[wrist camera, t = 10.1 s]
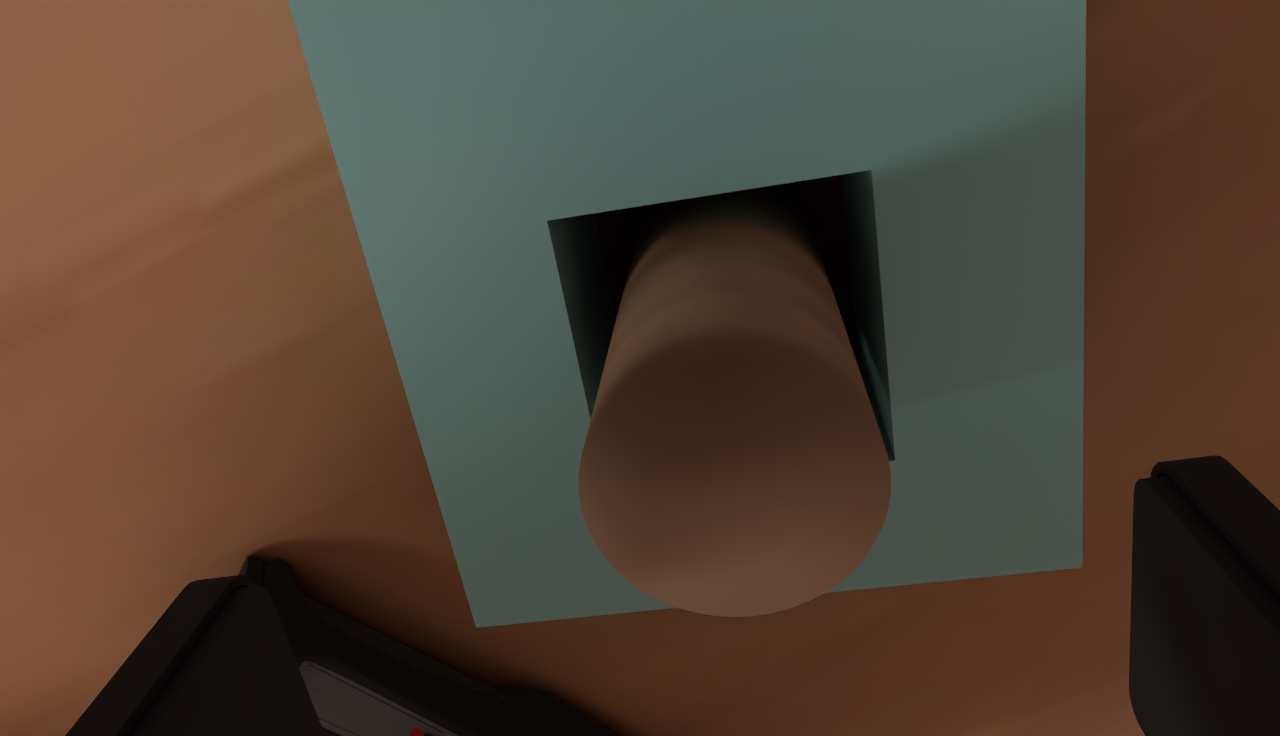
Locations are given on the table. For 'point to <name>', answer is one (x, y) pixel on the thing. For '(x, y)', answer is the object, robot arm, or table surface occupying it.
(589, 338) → the socket stand
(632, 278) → the walnut peg
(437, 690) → the electric trimmer
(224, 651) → the robot arm
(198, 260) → the table surface
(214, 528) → the table surface
